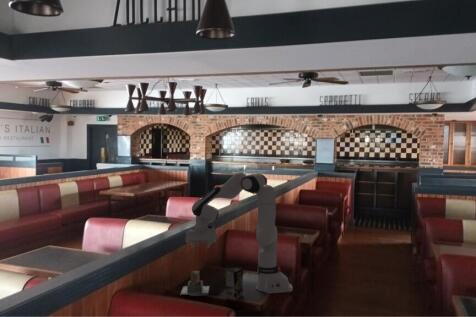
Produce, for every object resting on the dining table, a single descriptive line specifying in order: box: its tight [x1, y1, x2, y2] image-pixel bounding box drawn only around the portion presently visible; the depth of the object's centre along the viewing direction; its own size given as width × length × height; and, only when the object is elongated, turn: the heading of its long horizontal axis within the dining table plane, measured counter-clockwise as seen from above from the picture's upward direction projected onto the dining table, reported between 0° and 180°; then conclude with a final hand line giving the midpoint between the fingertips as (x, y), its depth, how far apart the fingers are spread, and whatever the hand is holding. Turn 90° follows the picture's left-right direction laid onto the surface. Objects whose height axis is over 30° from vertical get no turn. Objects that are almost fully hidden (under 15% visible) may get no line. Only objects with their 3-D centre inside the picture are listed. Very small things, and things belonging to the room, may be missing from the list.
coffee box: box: [225, 267, 244, 301], centre depth 229 cm, size 9×6×16 cm
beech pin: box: [190, 270, 201, 285], centre depth 238 cm, size 4×4×11 cm
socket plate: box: [180, 280, 210, 297], centre depth 238 cm, size 16×12×6 cm
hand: (200, 247), depth 251 cm, fingers open, 8 cm apart
